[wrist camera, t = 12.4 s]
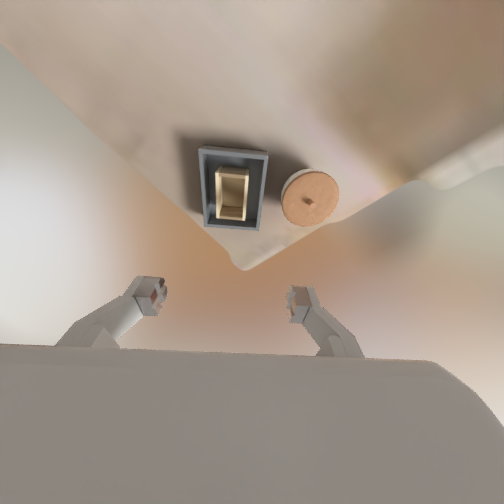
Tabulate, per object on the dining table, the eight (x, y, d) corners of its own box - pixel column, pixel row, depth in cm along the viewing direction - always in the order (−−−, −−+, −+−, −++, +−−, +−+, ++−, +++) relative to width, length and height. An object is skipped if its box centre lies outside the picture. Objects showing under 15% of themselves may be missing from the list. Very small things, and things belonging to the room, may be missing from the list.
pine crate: (220, 165, 37) (215, 172, 32) (249, 168, 37) (248, 175, 32) (220, 206, 42) (216, 218, 37) (245, 209, 42) (245, 220, 38)
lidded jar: (267, 186, 40) (271, 202, 33) (310, 150, 36) (326, 160, 28) (293, 219, 45) (302, 239, 38) (334, 191, 41) (352, 208, 33)
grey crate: (204, 144, 35) (198, 148, 31) (266, 151, 36) (268, 155, 32) (208, 216, 44) (204, 226, 40) (258, 220, 45) (258, 230, 41)
